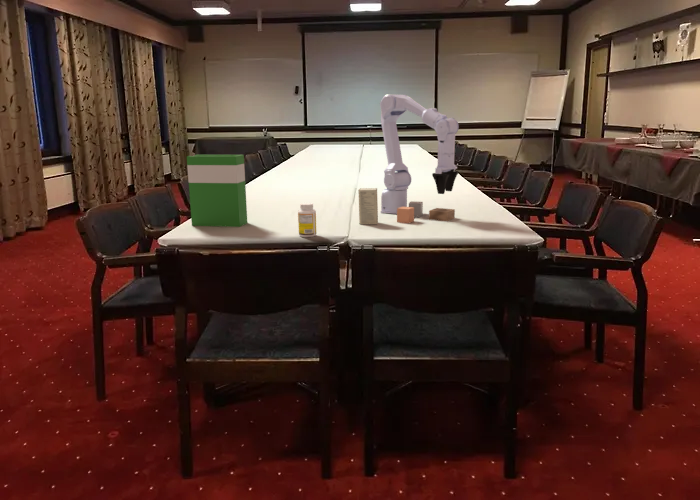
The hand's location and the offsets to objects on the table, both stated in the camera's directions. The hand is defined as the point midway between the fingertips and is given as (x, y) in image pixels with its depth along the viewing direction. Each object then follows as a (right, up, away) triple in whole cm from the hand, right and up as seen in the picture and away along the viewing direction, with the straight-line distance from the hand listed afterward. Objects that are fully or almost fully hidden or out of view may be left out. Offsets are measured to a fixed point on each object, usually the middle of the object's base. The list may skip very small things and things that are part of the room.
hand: (444, 192), depth 204 cm
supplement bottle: (-47, -16, -22) cm, 55 cm away
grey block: (-9, -8, +11) cm, 16 cm away
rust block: (-14, -11, -1) cm, 18 cm away
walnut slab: (-1, -9, +4) cm, 10 cm away
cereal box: (-80, -12, -1) cm, 80 cm away
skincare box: (-27, -11, -3) cm, 30 cm away
